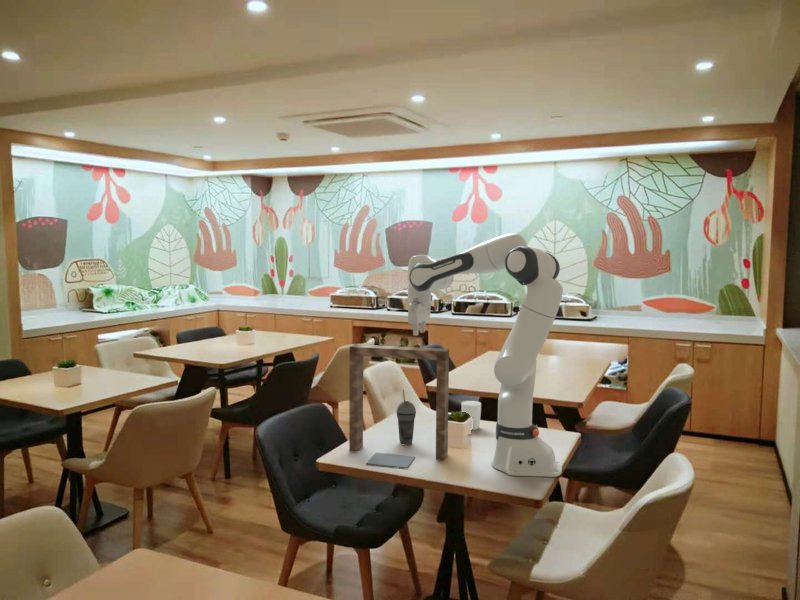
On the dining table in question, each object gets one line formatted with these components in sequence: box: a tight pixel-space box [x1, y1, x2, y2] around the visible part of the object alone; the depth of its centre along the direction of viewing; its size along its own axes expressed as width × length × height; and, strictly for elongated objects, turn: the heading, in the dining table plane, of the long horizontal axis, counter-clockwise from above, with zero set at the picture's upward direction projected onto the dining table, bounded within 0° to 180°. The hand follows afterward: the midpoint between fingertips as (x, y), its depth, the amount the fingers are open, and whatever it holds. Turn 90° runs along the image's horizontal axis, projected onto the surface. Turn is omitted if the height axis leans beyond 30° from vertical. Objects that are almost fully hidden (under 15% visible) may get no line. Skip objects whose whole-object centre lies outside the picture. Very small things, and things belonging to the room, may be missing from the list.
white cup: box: [461, 400, 482, 431], centre depth 240 cm, size 8×8×10 cm
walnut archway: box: [348, 343, 450, 461], centre depth 208 cm, size 34×6×37 cm, turn 75°
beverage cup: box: [395, 388, 417, 446], centre depth 219 cm, size 7×7×20 cm
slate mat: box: [365, 452, 416, 469], centre depth 201 cm, size 14×11×1 cm
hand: (419, 333), depth 227 cm, fingers open, 8 cm apart
